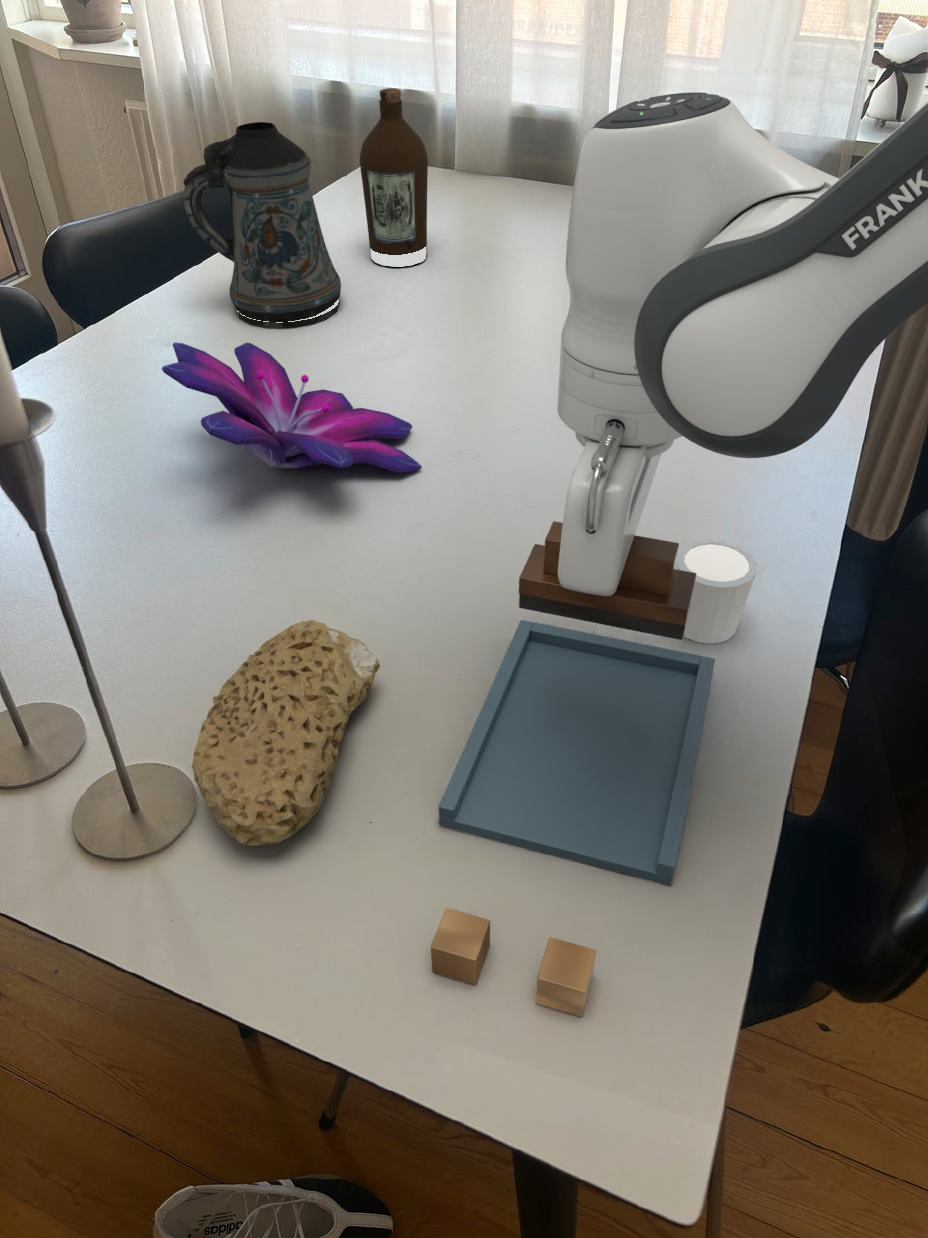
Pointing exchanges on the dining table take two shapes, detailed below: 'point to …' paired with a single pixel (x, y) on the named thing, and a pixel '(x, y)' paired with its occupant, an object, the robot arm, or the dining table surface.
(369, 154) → the olive oil
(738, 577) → the white cup
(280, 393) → the decorative flower
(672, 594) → the brush
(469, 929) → the brown wooden cube
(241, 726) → the sponge
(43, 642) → the dining table surface
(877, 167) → the robot arm
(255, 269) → the beer stein
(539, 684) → the tray
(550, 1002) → the light brown wooden cube
